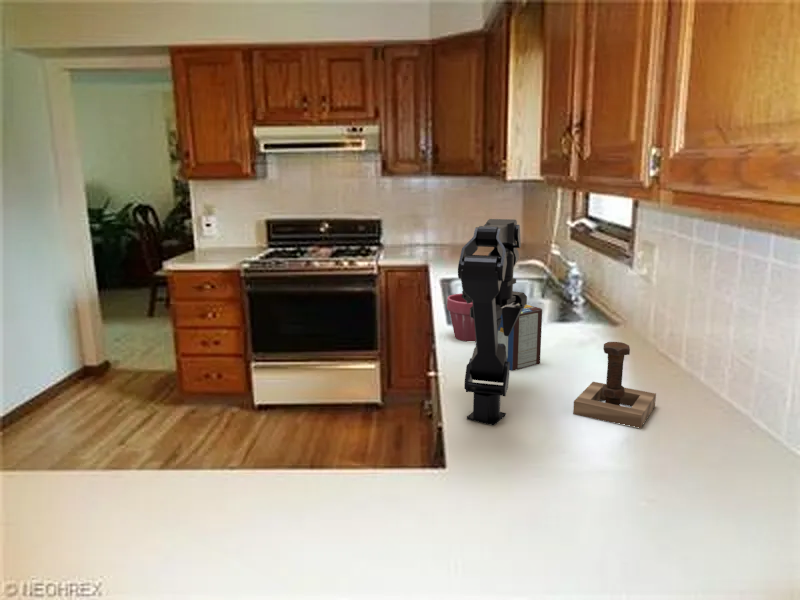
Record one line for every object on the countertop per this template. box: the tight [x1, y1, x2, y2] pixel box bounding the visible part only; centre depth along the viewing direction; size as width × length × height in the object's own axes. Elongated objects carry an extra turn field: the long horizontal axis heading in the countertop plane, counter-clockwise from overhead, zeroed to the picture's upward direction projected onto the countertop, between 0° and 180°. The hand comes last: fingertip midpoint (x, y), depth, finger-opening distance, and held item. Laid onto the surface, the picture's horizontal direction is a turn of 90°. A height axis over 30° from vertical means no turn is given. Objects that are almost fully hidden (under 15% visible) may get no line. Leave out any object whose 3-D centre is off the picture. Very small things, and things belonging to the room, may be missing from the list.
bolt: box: [602, 341, 631, 406], centre depth 132 cm, size 6×5×15 cm
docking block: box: [572, 381, 657, 429], centre depth 133 cm, size 14×14×3 cm
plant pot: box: [446, 292, 476, 342], centre depth 187 cm, size 14×14×13 cm
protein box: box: [497, 304, 543, 372], centre depth 166 cm, size 10×15×16 cm
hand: (498, 340), depth 141 cm, fingers open, 9 cm apart
